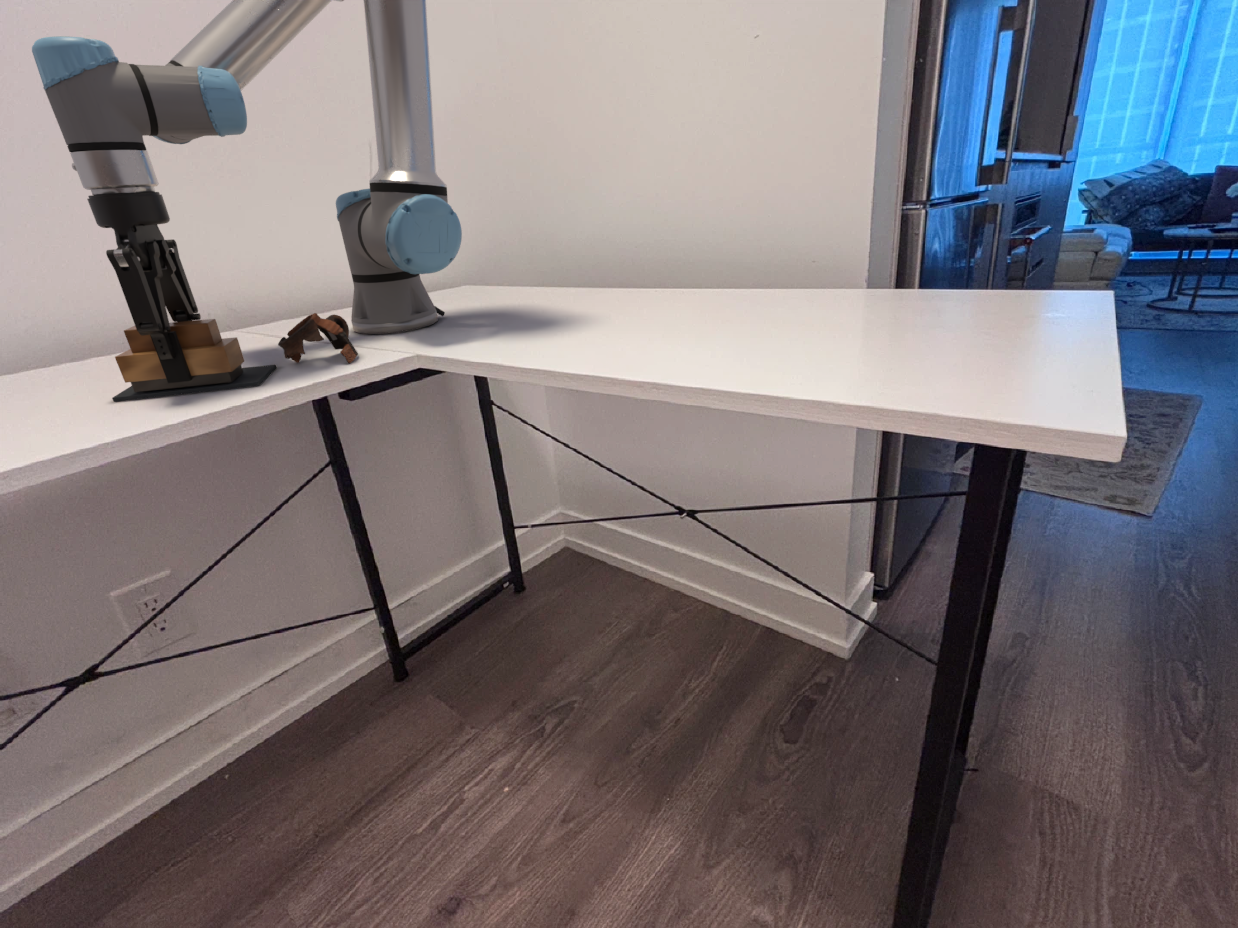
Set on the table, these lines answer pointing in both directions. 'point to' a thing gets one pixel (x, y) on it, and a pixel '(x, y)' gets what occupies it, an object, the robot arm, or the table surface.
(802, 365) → the table surface
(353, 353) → the brown black curved piece
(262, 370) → the mat
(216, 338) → the brush
